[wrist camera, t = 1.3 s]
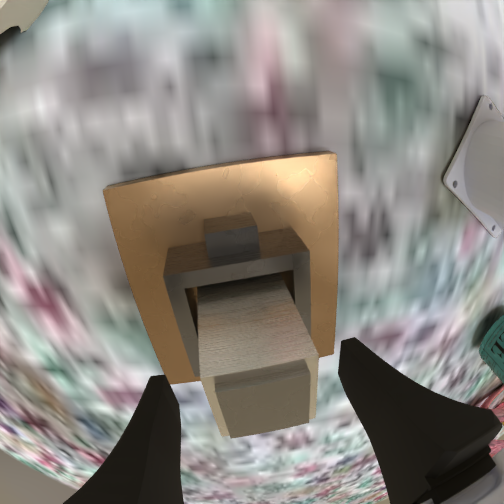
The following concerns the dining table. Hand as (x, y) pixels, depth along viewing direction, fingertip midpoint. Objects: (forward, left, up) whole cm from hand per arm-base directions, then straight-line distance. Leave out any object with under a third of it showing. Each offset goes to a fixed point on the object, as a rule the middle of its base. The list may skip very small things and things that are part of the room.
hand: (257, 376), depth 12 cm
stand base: (0, 0, -8) cm, 8 cm away
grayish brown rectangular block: (0, 0, -6) cm, 6 cm away
